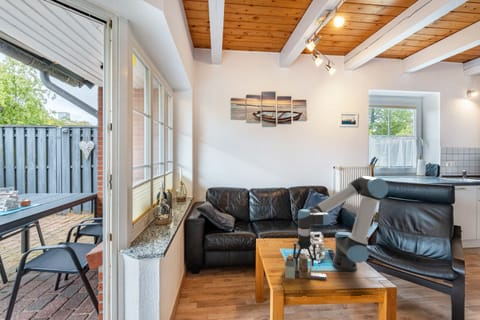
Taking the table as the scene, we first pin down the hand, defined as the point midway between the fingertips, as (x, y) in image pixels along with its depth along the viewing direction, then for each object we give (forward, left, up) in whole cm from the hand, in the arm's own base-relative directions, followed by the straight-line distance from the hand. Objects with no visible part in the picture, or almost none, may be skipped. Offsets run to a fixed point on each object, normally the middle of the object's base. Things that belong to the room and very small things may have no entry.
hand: (304, 269), depth 145 cm
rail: (-3, 0, -4) cm, 5 cm away
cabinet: (+9, 0, -4) cm, 10 cm away
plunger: (+9, 0, +6) cm, 11 cm away
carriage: (0, 0, -4) cm, 4 cm away
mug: (+5, -7, -4) cm, 10 cm away
